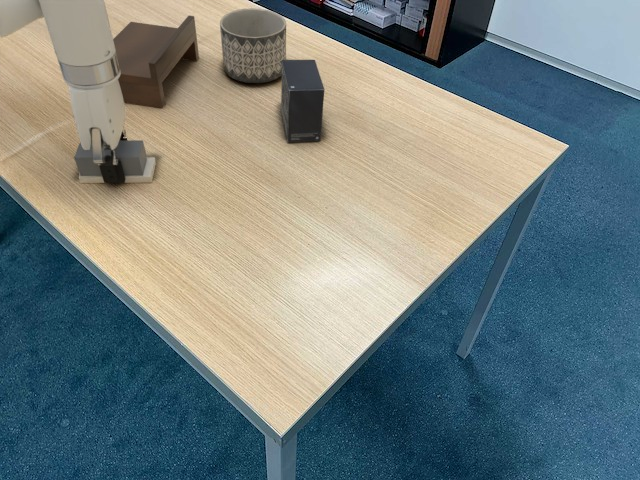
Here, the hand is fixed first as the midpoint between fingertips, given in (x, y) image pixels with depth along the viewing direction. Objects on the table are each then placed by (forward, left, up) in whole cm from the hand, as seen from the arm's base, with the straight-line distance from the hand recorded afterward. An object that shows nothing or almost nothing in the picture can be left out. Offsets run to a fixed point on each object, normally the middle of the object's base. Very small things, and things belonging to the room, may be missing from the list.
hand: (118, 169), depth 87 cm
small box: (+17, +28, -1) cm, 33 cm away
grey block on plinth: (0, 0, -1) cm, 1 cm away
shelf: (-17, +25, -1) cm, 30 cm away
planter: (-1, +39, -1) cm, 39 cm away
